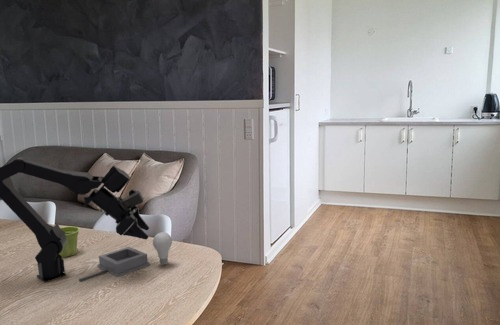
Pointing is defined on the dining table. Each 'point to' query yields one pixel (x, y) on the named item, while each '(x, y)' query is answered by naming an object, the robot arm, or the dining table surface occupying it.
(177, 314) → the dining table surface
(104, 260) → the grey square pan
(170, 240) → the lightbulb
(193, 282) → the dining table surface
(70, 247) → the plant pot
